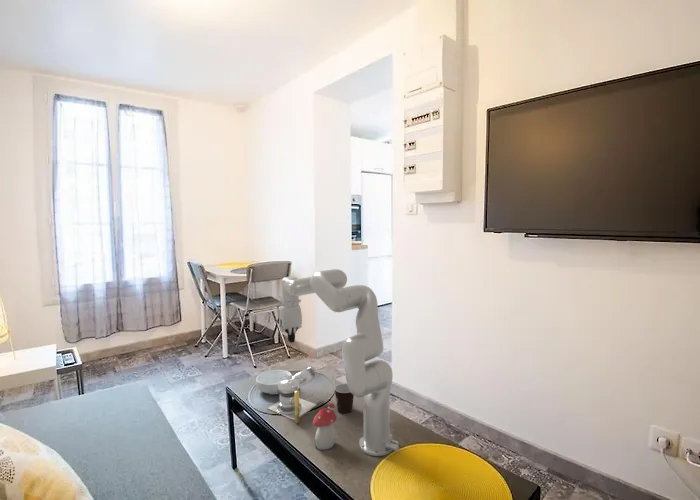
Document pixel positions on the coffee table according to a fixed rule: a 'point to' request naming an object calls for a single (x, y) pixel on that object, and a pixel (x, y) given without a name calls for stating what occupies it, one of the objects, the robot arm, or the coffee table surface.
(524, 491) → the coffee table surface
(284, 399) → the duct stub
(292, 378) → the elbow
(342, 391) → the coffee mug
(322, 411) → the decorative ornament
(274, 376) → the cereal bowl
